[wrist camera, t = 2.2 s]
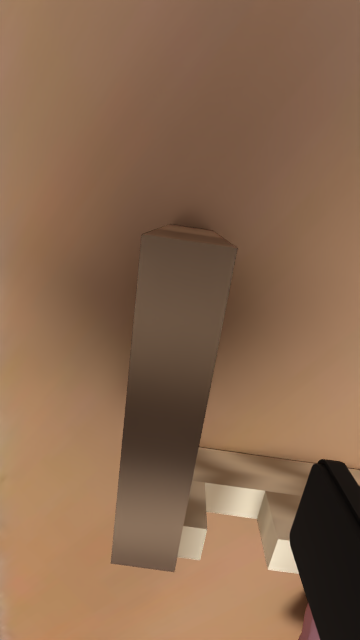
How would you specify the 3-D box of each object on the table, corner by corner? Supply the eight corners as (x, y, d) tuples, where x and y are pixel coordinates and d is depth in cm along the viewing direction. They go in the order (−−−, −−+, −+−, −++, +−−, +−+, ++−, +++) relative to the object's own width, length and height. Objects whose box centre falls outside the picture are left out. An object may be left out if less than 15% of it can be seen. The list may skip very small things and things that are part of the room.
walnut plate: (169, 224, 17) (141, 234, 8) (212, 230, 17) (237, 248, 8) (147, 406, 21) (110, 563, 11) (182, 411, 21) (174, 572, 11)
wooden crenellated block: (143, 466, 23) (126, 550, 17) (146, 439, 22) (130, 518, 16) (436, 507, 23) (517, 604, 17) (449, 482, 22) (539, 575, 16)
